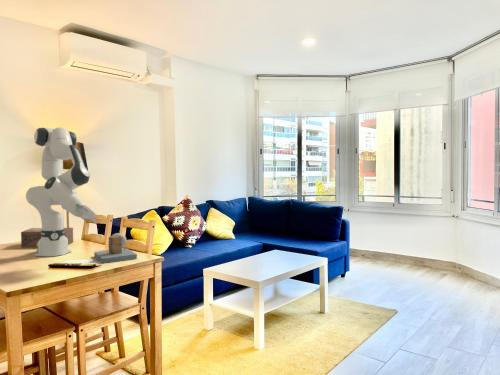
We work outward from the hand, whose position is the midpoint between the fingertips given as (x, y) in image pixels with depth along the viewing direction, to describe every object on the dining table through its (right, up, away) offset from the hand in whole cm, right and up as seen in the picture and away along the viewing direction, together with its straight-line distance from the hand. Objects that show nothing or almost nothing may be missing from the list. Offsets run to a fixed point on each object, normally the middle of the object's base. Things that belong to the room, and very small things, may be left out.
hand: (91, 221), depth 202 cm
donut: (+3, -20, +31) cm, 37 cm away
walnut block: (+9, -18, +11) cm, 23 cm away
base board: (+9, -21, +11) cm, 25 cm away
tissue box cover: (-46, -19, +44) cm, 66 cm away
